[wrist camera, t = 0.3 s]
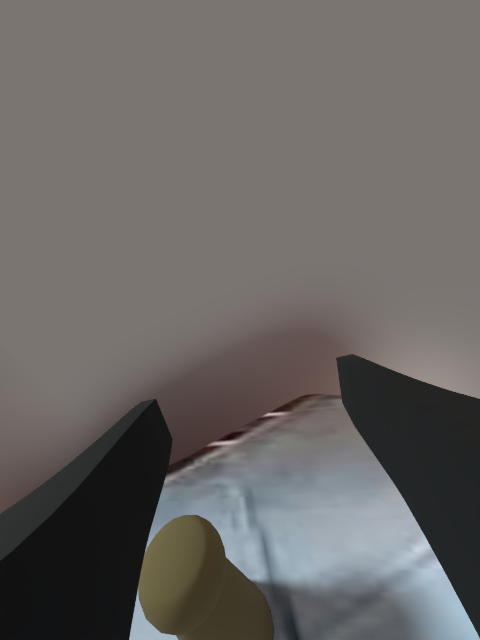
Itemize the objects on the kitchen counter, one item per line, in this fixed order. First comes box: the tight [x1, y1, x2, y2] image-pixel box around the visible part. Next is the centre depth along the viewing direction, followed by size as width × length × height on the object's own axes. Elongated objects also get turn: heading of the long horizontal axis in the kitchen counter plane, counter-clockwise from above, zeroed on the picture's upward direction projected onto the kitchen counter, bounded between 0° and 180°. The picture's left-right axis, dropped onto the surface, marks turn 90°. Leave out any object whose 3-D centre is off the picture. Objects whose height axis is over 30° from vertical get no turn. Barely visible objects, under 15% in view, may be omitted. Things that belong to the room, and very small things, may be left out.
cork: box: [138, 515, 274, 640], centre depth 17 cm, size 6×6×11 cm
